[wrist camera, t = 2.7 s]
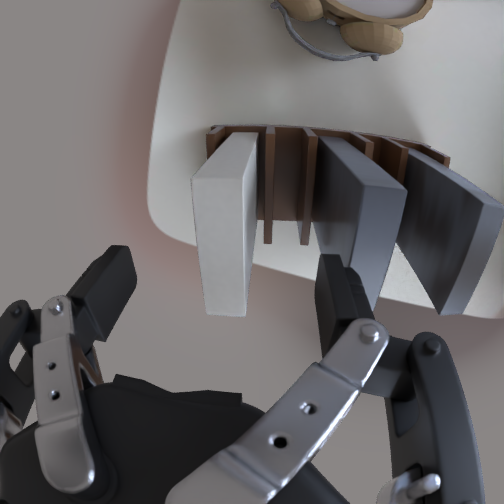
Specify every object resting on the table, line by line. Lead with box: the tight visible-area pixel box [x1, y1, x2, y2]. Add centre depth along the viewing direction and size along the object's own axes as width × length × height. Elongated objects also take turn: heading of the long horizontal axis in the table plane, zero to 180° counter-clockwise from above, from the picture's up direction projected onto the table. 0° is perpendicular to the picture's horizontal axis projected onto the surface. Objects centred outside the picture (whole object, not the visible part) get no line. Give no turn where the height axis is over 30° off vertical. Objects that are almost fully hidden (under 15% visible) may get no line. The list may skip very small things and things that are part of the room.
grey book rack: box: [206, 125, 504, 315], centre depth 17 cm, size 8×18×13 cm, turn 90°
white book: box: [191, 132, 259, 317], centre depth 17 cm, size 7×2×12 cm, turn 0°
